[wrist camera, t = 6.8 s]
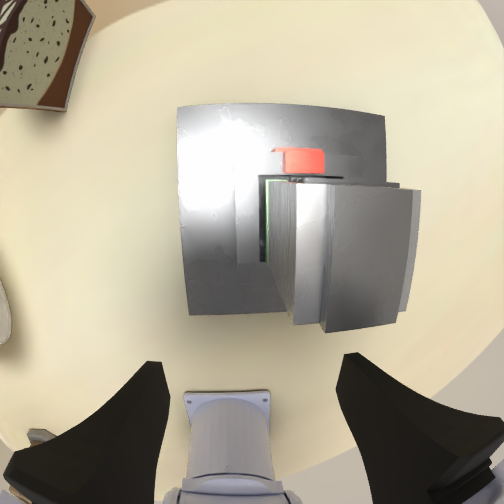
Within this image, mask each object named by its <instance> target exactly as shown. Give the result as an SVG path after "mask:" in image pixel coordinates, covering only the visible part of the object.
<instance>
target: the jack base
mask: <svg viewBox="0 0 504 504" xmlns="http://www.w3.org/2000/svg"><path fill="white" fill-rule="evenodd" d="M177 163H178V192H179V212H180V227H181V241H182V253H183V264H184V274H185V284H186V293H187V301H188V309H189V315H226V314H251V313H270V312H285V311H287V309H286V307H285V304H284V302H283V299H282V297H281V294H280V292H279V289H278V287H277V284H276V282H275V279H274V277H273V274H272V272H271V270H270V267H269V265H268V264H267V263H266V261H265V180H287V178H326V179H348V180H365V181H379V182H386V132H385V116H382V115H377V114H371V113H365V112H359V111H352V110H345V109H338V108H329V107H320V106H308V105H294V104H273V103H229V104H208V105H194V106H182V107H177Z"/></svg>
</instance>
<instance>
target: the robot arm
mask: <svg viewBox="0 0 504 504" xmlns="http://www.w3.org/2000/svg"><path fill="white" fill-rule="evenodd" d="M336 393H337V397H338V400H339V404H340V407H341V410H342V412H343V415H344V417H345V419H346V421H347V424H348V426H349V428H350V430H351V432H352V435H353V437H354V439H355V441H356V444H357V446H358V448H359V451H360V453H361V456H362V459H363V462H364V466H365V470H366V473H367V477H368V481H369V486H370V490H371V495H372V501H373V504H504V460H503V461H501V462H500V463H499V464H498V465H497V466H495V468H493V469H492V470H491V469H490V468H489V466H490V465H491V464H492V461H491V460H490V458H489V457H490V456H491V455H492V454H493V453H494V452H495V450H497V448H498V447H499V446H500V445H501V444H502V443H503V442H504V422H503V421H502V420H501V418H499V417H491V416H483V415H476V414H472V413H468V412H463V411H460V410H456V409H453V408H450V407H448V406H445V405H442V404H440V403H437V402H435V401H433V400H431V399H428V398H426V397H424V396H422V395H420V394H418V393H417V392H415V391H413V390H411V389H410V388H408V387H406V386H405V385H403V384H402V383H400V382H399V381H397V380H396V379H394V378H393V377H391V376H390V375H388V374H387V373H386V372H384V371H383V370H381V369H380V368H379V367H377V366H376V365H375V364H373V363H372V362H371V361H369V360H368V359H366V358H365V357H364V356H362V355H361V354H359V353H358V352H356V353H350V354H344V357H343V362H342V366H341V370H340V374H339V378H338V382H337V386H336ZM270 397H271V396H270V392H269V391H253V392H231V393H185V394H184V402H185V406H186V410H187V413H188V417H189V420H190V424H191V427H192V429H191V438H190V447H189V456H188V466H187V476H186V478H183V482H182V489H181V488H177V487H174V488H172V489H171V490H170V491H169V492H167V493H166V494H165V497H164V500H163V504H303V503H302V501H301V499H300V498H299V497H298V496H297V495H295V494H294V493H293V492H292V491H290V490H285V491H283V487H282V481H275V476H274V469H273V463H272V456H271V450H270V444H269V423H270ZM188 400H190V401H188ZM169 406H170V394H169V390H168V386H167V382H166V378H165V374H164V370H163V366H162V362H154V361H147V362H146V363H145V364H144V365H143V366H142V367H141V368H140V369H139V370H138V371H137V372H136V373H135V374H134V375H133V376H132V377H131V379H130V380H129V381H128V382H127V383H126V384H125V385H124V386H123V387H122V388H121V389H120V390H119V391H118V392H117V393H116V394H115V395H114V396H113V397H112V398H111V399H110V400H108V401H107V402H106V403H105V404H104V405H103V406H102V407H101V408H100V409H98V410H97V411H96V412H95V413H93V414H92V415H91V416H89V417H88V418H87V419H85V420H84V421H83V422H81V423H80V424H78V425H76V426H75V427H73V428H71V429H70V430H68V431H66V432H64V433H63V434H61V435H59V436H57V437H55V438H53V439H51V440H48V441H46V442H43V443H41V444H38V445H36V446H32V447H29V448H26V449H22V450H19V451H15V452H14V454H13V456H12V458H11V460H10V462H9V463H8V466H7V467H6V469H5V472H4V474H3V476H4V478H5V480H6V481H7V482H8V483H9V484H10V485H11V486H12V487H13V488H15V489H16V490H17V491H18V492H20V493H21V494H22V495H23V496H25V497H26V498H27V499H28V500H30V501H31V502H32V504H154V489H155V477H156V468H157V462H158V458H159V453H160V449H161V445H162V441H163V437H164V433H165V429H166V425H167V421H168V415H169ZM0 504H25V503H24V502H22V501H20V500H19V499H17V498H16V497H14V496H13V495H11V494H10V493H8V492H6V491H5V490H2V492H1V494H0Z"/></svg>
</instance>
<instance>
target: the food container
mask: <svg viewBox="0 0 504 504" xmlns="http://www.w3.org/2000/svg"><path fill="white" fill-rule="evenodd" d="M94 20H95V15H94V14H93V12H92V11H91V9H90V8H89V7H88V5H87V4H86V2H85V1H84V0H0V108H21V109H35V110H47V111H56V112H65V111H67V107H68V102H69V98H70V93H71V89H72V85H73V81H74V78H75V74H76V71H77V67H78V64H79V61H80V58H81V54H82V51H83V48H84V46H85V43H86V40H87V37H88V35H89V32H90V30H91V27H92V25H93V22H94Z"/></svg>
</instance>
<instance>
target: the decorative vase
mask: <svg viewBox="0 0 504 504" xmlns="http://www.w3.org/2000/svg"><path fill="white" fill-rule="evenodd" d="M11 328H12V322H11V313H10V308H9V304H8V300H7V297H6V294H5V291H4V288H3V285H2V283H1V280H0V345H1V344H3V343H5V342H6V341H7V340H8V339H9V337H10V334H11Z"/></svg>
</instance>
